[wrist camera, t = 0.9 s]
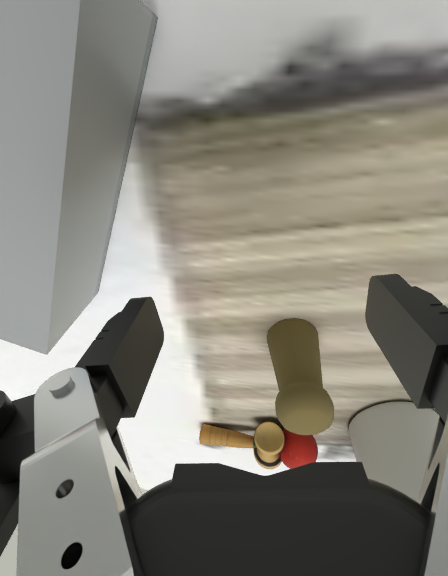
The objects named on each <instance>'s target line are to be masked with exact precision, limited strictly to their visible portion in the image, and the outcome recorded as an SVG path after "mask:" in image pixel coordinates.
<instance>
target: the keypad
mask: <svg viewBox="0 0 448 576" xmlns="http://www.w3.org/2000/svg"><path fill="white" fill-rule="evenodd" d="M157 18H158V17H156V16H155V15H154V14H153V13H152V12H151V11H150V10H149V9H148V8H147V7H145V6H144V5H143V4H142V3H141V2H140V1H139V0H0V339H2V340H5V341H8V342H11V343H14V344H17V345H19V346H22V347H25V348H28V349H31V350H34V351H37V352H40V353H43V354H46V355H47V354H48V353H49V352H50V350H51V349H52V348H53V347H54V346H55V344H56V343H57V342H58V341H59V339H60V338H61V337H62V336H63V335H64V333H65V332H66V331H67V330H68V328H69V327H70V326H71V325H72V324H73V322H74V321H75V320H76V319H77V317H78V316H79V315H80V314H81V313H82V311H83V310H84V309H85V308H86V307H87V305H88V304H89V303H90V302H91V300H92V299H93V298H94V297H95V296H96V294H97V293H98V290H99V286H100V281H101V276H102V272H103V267H104V263H105V258H106V253H107V249H108V244H109V240H110V235H111V230H112V226H113V221H114V216H115V212H116V207H117V203H118V198H119V193H120V189H121V184H122V179H123V175H124V170H125V166H126V161H127V156H128V152H129V147H130V143H131V138H132V133H133V129H134V124H135V119H136V115H137V110H138V106H139V101H140V96H141V92H142V87H143V82H144V78H145V73H146V69H147V64H148V59H149V55H150V50H151V45H152V41H153V36H154V32H155V27H156V22H157Z"/></svg>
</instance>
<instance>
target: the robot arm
mask: <svg viewBox="0 0 448 576" xmlns="http://www.w3.org/2000/svg"><path fill="white" fill-rule="evenodd" d="M365 317H366V323H367V327H368V329H369V331H370V333H371V334H372V336H373V338H374V339H375V341H376V342H377V344H378V346H379V347H380V349H381V351H382V352H383V354H384V356H385V357H386V359H387V360H388V362H389V364H390V365H391V367H392V369H393V370H394V372H395V373H396V375H397V377H398V378H399V380H400V382H401V383H402V385H403V387H404V388H405V390H406V391H407V393H408V395H409V396H410V398H411V400H412V401H413V403H414V404H415V406H416V408H417V409H430V408H435V410H436V411H437V412H438V414H439V415H440V416H439V418H438V421H437V424H436V428H435V432H434V437H433V441H432V445H431V449H430V453H429V458H428V462H427V466H426V470H425V475H424V478H423V482H422V486H421V489H420V492H419V495H418V498H417V501H415V500H413V499H412V498H410V497H409V496H407V495H405V494H404V493H402V492H400V491H398V490H396V489H394V488H392V487H390V486H388V485H385V484H383V483H380V482H378V481H375V480H372V479H368V478H367V475H366V472H365V469H364V466H363V463H362V462H313V463H309V464H306V465H303V466H299V467H296V468H293V469H289V470H286V471H283V472H279V473H276V474H273V475H269V476H262V475H258V474H254V473H251V472H247V471H244V470H240V469H237V468H233V467H229V466H226V465H222V464H219V463H200V464H175V469H174V473H173V478H172V480H169V481H166V482H164V483H162V484H160V485H157V486H156V487H154V488H152V489H151V490H149V491H147V492H146V493H144V494H142V492H141V490H140V488H139V485H138V483H137V480H136V478H135V475H134V472H133V469H132V466H131V463H130V460H129V457H128V454H127V451H126V448H125V445H124V442H123V439H122V436H121V433H120V431H119V429H118V427H117V426H118V423H119V421H120V419H121V418H131V417H135V415H136V412H137V410H138V407H139V405H140V402H141V399H142V397H143V394H144V392H145V389H146V386H147V384H148V381H149V379H150V376H151V373H152V371H153V368H154V366H155V363H156V360H157V358H158V355H159V353H160V350H161V347H162V345H163V341H164V332H163V327H162V324H161V321H160V318H159V315H158V312H157V309H156V306H155V303H154V300H153V299H152V298H151V297H142V298H132V299H130V300H129V301H128V303H127V304H126V306H125V307H124V309H123V310H122V312H119V313H117V314H116V315H115V316H114V317H112V318H111V319H110V320H108V322H107V323H106V324H105V326H104V327H103V329H102V330H101V332H100V333H99V334H98V336H97V337H96V340H94V341H93V343H92V344H91V345H90V347H89V348H88V349H87V351H86V352H85V354H84V355H83V356H82V358H81V359H80V361H79V362H78V363H77V365H76V366H75V368H69V369H66V370H63V371H61V372H59V373H57V374H55V375H53V376H52V377H50V378H49V379H48V380H46V381H45V382H44V383H43V384H42V385H41V386H40V387H39V389H38V390H37V392H36V394H34V395H31V396H27V397H24V398H21V399H18V400H14V401H11V400H10V399H9V398H8V397H7V395H6V394H5V393H4V392H3V391H0V556H1V554H2V552H3V550H4V548H5V547H6V545H7V543H8V541H9V539H10V537H11V535H12V534H13V532H14V530H15V528H16V526H17V524H18V547H17V549H18V550H17V576H448V308H447V307H446V306H445V305H442V303H441V302H440V301H439V300H438V299H437V298H436V297H435V296H433V295H432V294H431V293H429V292H427V291H425V290H422V289H420V288H418V287H416V286H414V287H411V286H410V285H409V284H408V283H407V282H406V281H405V280H404V279H403V278H402V277H401V276H400V275H398V274H388V275H377V276H372V277H371V279H370V282H369V289H368V297H367V305H366V313H365Z"/></svg>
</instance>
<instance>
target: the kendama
mask: <svg viewBox="0 0 448 576" xmlns="http://www.w3.org/2000/svg"><path fill="white" fill-rule="evenodd" d="M283 429H284V430H283ZM283 429H281V428H280V427H279V426H278V425H277V424H275V423H273V422H264V423H261V424H260V425H259V426H258V427H257V428H256V431H255V435H254V437H253V436H250V435H247V434H244V433H240V432H237V431H232V430H228V429H223V428H219V427H216V426H212V425H208V424H203V425H202V427H201V431H200V437H199V440H200V444H207V445H218V446H228V447H236V448H254V456H255V459H256V461H257V462H258V464H259V465H260V466H262V467H263V468H266V469H274V468H276V467H278V466H279V465H280V464H281V462H283V463H284V464H285V465H286V466H287V467H289V468H290V469H293V468H296V467H299V466H303V465H306V464H309V463H313V462H316V459H317V455H318V448H317V443H316V440H315V439H314V437H313V435H299V434H295V433H293V432H290V431H288V430H287V429H285V428H283ZM282 430H283V431H282Z"/></svg>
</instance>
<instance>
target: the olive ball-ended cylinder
mask: <svg viewBox="0 0 448 576" xmlns="http://www.w3.org/2000/svg"><path fill="white" fill-rule="evenodd" d="M267 342H268V346H269V351H270V355H271V359H272V363H273V367H274V371H275V375H276V379H277V383H278V387H279V391H280V392H279V393H278V395H277V398H276V402H275V406H276V415H277V418H278V420H279V421H280V423H281V424H282V426H283V427H284V428H285V429H287V430H288V431H290V432H293V433H295V434H299V435H314V434H318V433H320V432H323V431H325V430H326V429H327V428H329V427H330V425H331V424H332V421H333V419H334V406H333V402H332V400H331V398H330V396H329V395H328V393H327V391H326V390H324V389H323V385H322V374H321V363H320V352H319V340H318V332H317V330H316V328H315V327H314V326H313V325H312V324H311V323H310V322H307V321H305V320H302V319H296V318H293V319H285V320H282V321H279V322H278V323H276V324H274V325H273V326H272V327H271V328H270V330H269V331H268V334H267Z"/></svg>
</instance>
